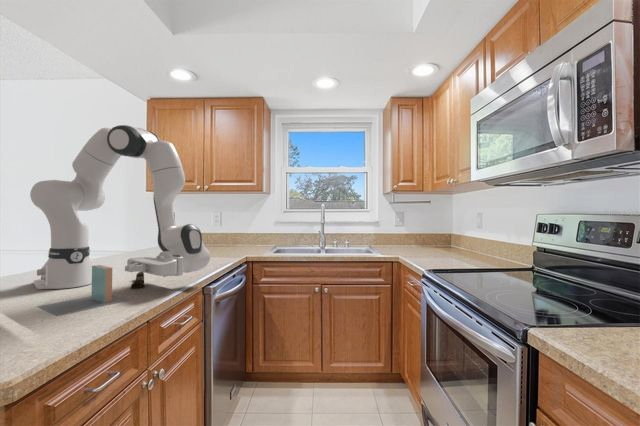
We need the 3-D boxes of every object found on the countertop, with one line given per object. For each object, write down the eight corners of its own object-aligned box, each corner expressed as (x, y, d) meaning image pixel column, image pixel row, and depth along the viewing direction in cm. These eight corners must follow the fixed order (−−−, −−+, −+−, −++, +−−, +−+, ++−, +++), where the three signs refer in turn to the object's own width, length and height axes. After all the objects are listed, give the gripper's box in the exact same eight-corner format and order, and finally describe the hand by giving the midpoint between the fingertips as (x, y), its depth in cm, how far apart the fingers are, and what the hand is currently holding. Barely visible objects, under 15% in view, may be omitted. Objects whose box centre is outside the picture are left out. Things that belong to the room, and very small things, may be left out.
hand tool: (143, 293, 110) (144, 279, 110) (130, 294, 109) (130, 280, 109) (148, 282, 128) (149, 270, 128) (137, 282, 126) (137, 271, 126)
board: (37, 311, 88) (37, 306, 88) (108, 297, 103) (108, 292, 103) (57, 321, 80) (57, 316, 80) (130, 304, 96) (130, 300, 96)
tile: (91, 298, 96) (91, 265, 96) (99, 297, 98) (99, 265, 98) (104, 302, 92) (104, 268, 92) (111, 301, 94) (112, 267, 94)
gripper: (151, 252, 118) (111, 256, 106) (185, 257, 107) (144, 262, 95) (151, 269, 118) (110, 274, 106) (185, 275, 107) (144, 283, 95)
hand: (127, 269), depth 100 cm, fingers closed
